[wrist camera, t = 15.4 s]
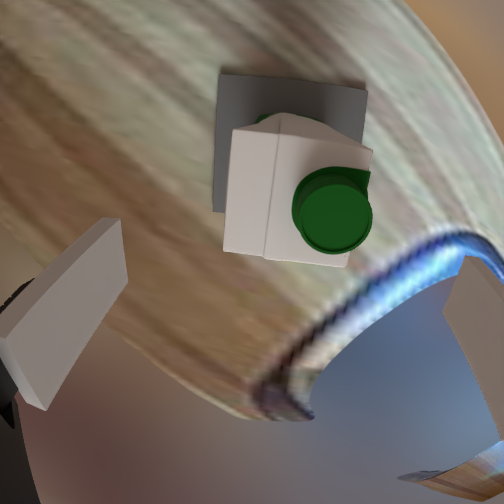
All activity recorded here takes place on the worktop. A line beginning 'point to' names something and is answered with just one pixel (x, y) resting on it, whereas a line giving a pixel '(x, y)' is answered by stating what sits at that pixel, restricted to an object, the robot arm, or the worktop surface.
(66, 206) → the worktop surface
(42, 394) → the robot arm
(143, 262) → the worktop surface
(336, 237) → the soya milk
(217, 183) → the charcoal mat
